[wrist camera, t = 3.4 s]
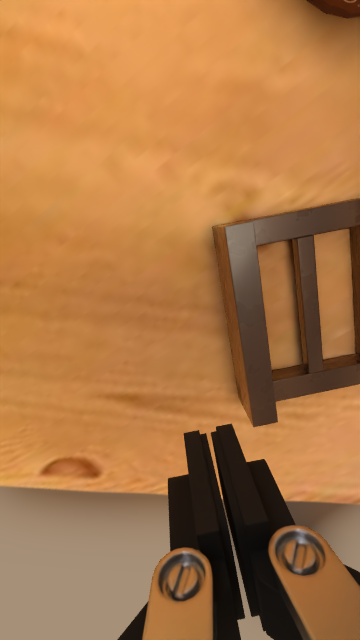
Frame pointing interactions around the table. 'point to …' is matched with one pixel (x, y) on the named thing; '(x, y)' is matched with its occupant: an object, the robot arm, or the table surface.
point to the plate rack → (249, 316)
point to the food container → (338, 7)
